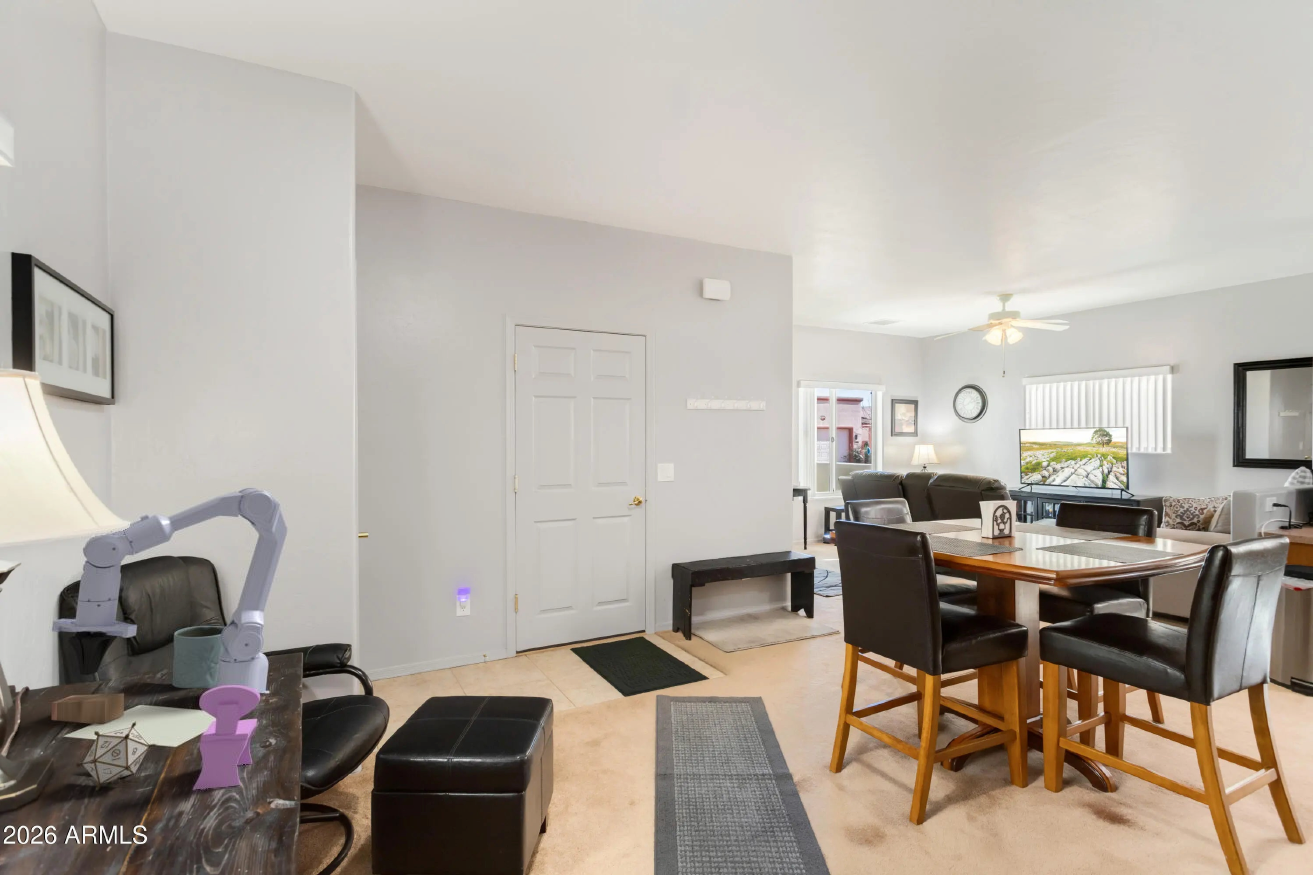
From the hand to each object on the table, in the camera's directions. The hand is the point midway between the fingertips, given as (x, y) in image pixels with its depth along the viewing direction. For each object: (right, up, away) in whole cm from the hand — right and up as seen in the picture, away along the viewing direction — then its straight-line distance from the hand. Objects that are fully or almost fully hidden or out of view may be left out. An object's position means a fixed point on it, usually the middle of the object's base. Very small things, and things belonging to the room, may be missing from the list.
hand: (88, 673), depth 121 cm
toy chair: (+36, -11, -16) cm, 41 cm away
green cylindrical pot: (+4, -11, +22) cm, 25 cm away
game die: (+22, -9, -21) cm, 31 cm away
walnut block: (+5, -6, -1) cm, 8 cm away
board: (+13, -10, -1) cm, 17 cm away
